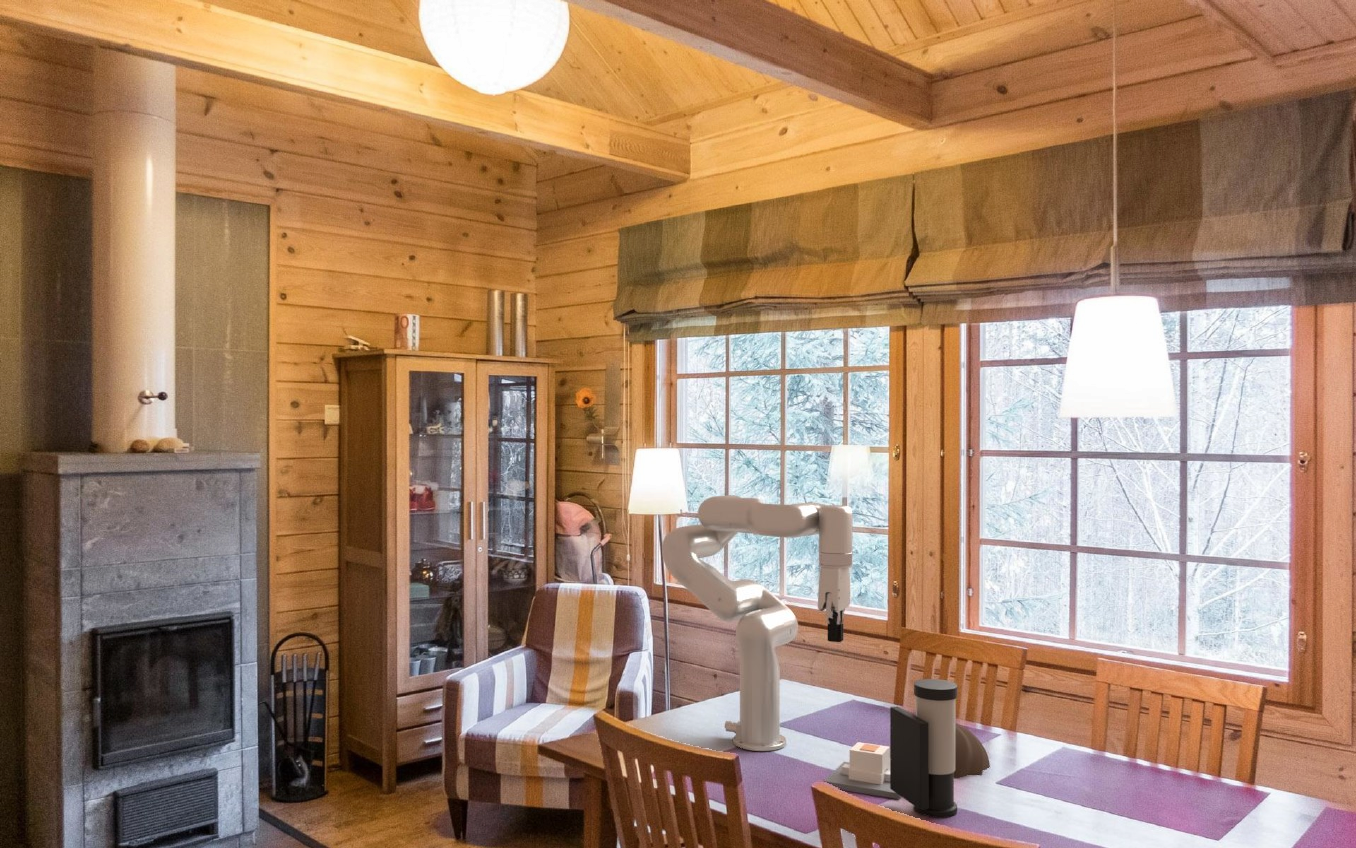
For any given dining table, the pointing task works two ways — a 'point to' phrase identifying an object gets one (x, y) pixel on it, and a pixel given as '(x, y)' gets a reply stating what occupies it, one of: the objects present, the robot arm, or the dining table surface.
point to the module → (869, 762)
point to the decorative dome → (968, 753)
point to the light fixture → (925, 749)
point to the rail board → (860, 783)
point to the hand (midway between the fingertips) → (835, 641)
